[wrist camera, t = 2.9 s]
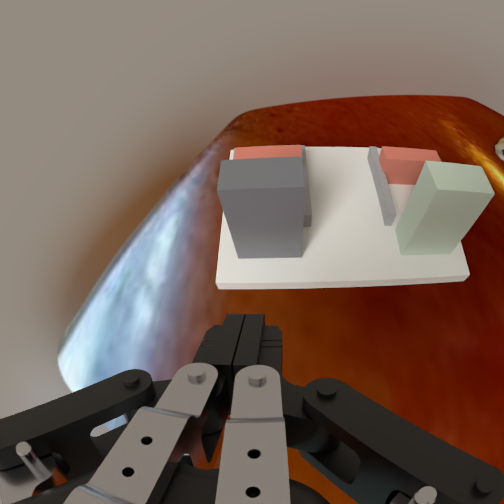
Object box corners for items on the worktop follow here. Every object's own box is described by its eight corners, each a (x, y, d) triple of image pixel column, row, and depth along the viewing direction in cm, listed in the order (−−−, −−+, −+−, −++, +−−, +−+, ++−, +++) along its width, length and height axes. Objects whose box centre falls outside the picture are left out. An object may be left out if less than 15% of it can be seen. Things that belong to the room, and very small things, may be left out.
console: (423, 159, 36) (434, 129, 31) (463, 281, 27) (488, 256, 22) (232, 158, 39) (225, 125, 34) (219, 289, 30) (205, 263, 25)
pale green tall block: (443, 229, 28) (481, 166, 20) (450, 253, 27) (494, 193, 18) (395, 229, 29) (425, 160, 20) (400, 255, 28) (437, 189, 19)
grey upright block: (300, 230, 30) (302, 156, 22) (301, 257, 29) (305, 186, 20) (240, 232, 31) (221, 160, 22) (238, 258, 29) (216, 190, 21)
